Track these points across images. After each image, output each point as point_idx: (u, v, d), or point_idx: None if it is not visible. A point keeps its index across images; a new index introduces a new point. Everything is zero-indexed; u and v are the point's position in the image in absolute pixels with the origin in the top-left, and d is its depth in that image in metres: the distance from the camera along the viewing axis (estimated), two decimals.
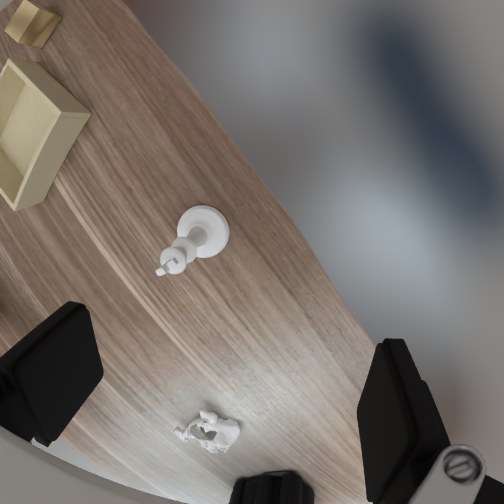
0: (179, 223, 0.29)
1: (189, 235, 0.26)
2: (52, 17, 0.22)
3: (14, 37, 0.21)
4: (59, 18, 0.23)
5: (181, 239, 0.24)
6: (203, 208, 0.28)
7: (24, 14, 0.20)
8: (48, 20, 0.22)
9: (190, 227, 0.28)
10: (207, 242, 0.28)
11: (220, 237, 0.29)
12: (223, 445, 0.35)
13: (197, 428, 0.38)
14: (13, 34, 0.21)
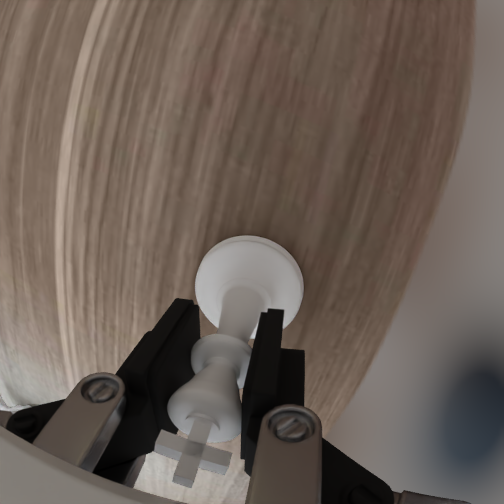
0: (231, 247, 0.13)
1: (244, 317, 0.11)
2: None
3: None
4: None
5: (244, 353, 0.09)
6: (293, 269, 0.13)
7: None
8: None
9: (247, 282, 0.13)
10: None
11: None
12: None
13: None
14: None
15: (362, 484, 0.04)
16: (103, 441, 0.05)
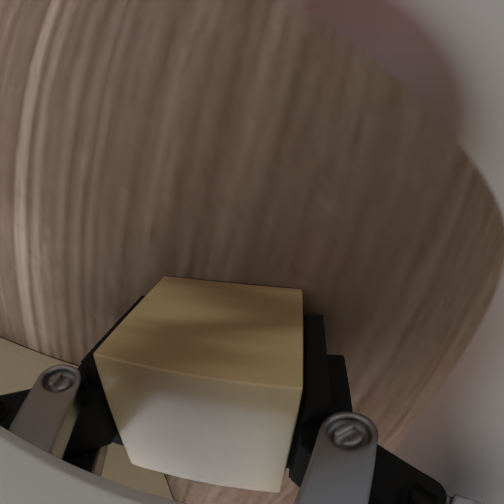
0: None
1: None
2: None
3: (128, 443, 0.07)
4: None
5: None
6: None
7: (224, 449, 0.06)
8: None
9: None
10: None
11: None
12: None
13: None
14: (129, 432, 0.07)
15: (418, 484, 0.04)
16: (67, 427, 0.05)
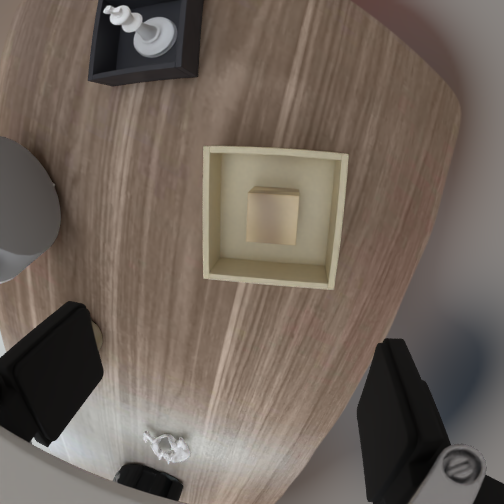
0: (148, 20, 0.26)
1: (144, 23, 0.24)
2: None
3: (248, 228, 0.28)
4: None
5: (137, 14, 0.21)
6: (170, 22, 0.26)
7: (280, 221, 0.28)
8: None
9: (151, 24, 0.25)
10: (149, 41, 0.26)
11: (159, 46, 0.27)
12: (174, 461, 0.44)
13: (159, 438, 0.46)
14: (251, 222, 0.28)
15: None
16: None
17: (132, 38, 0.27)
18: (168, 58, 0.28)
